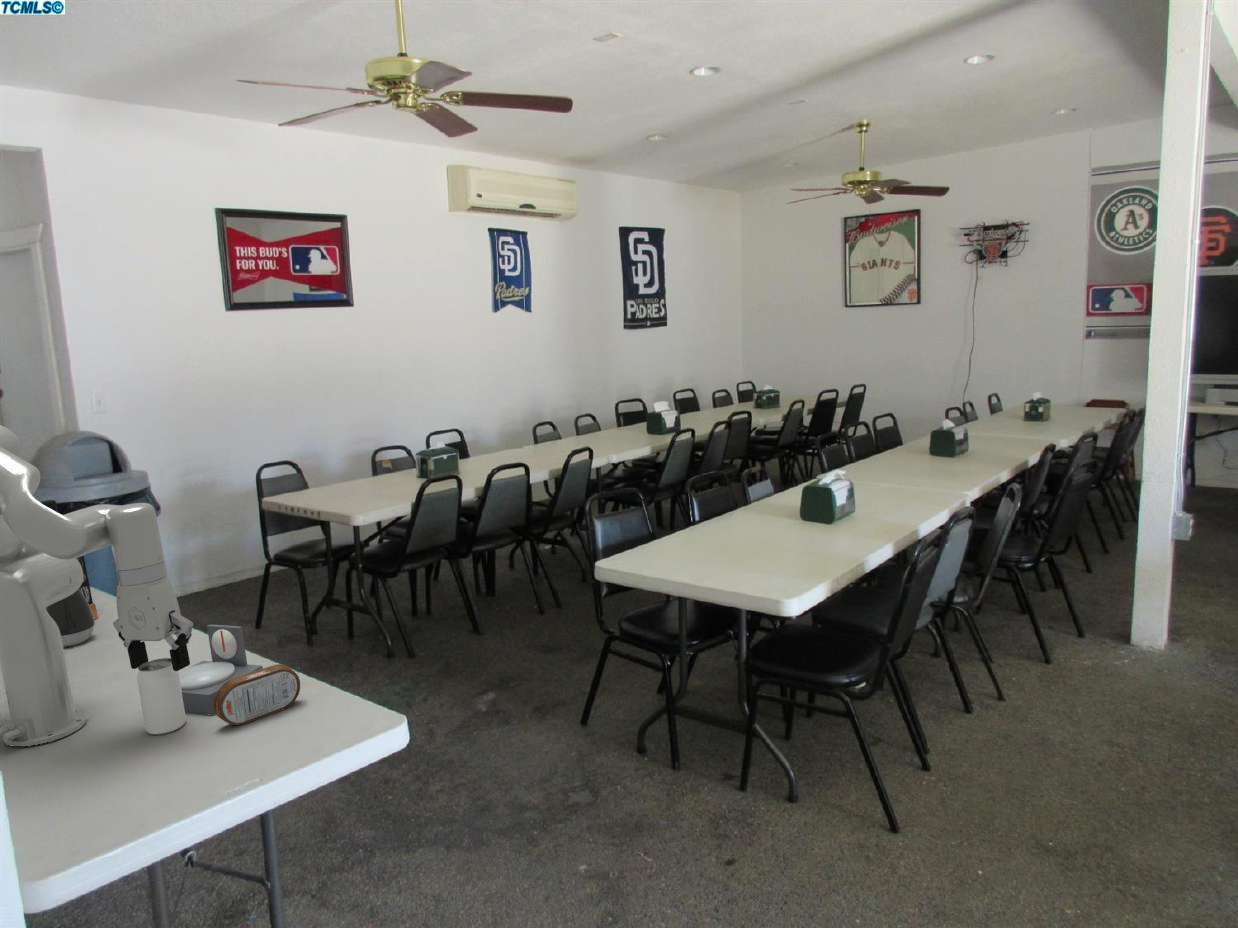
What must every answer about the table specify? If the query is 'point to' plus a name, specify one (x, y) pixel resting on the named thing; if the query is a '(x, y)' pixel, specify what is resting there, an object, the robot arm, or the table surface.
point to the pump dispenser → (73, 618)
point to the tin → (256, 694)
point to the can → (161, 697)
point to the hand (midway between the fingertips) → (160, 667)
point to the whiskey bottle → (85, 584)
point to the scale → (215, 669)
